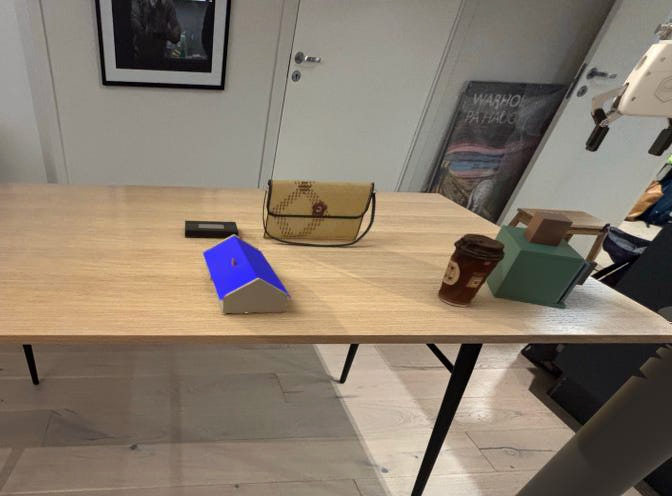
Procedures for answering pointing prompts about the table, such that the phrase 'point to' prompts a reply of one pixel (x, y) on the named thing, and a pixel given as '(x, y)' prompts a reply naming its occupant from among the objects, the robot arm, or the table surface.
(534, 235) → the walnut block
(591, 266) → the dark grey slanted bar
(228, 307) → the roof
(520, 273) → the cabinet
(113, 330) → the table surface
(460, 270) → the coffee cup
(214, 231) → the vhs tape
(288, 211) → the clutch purse
